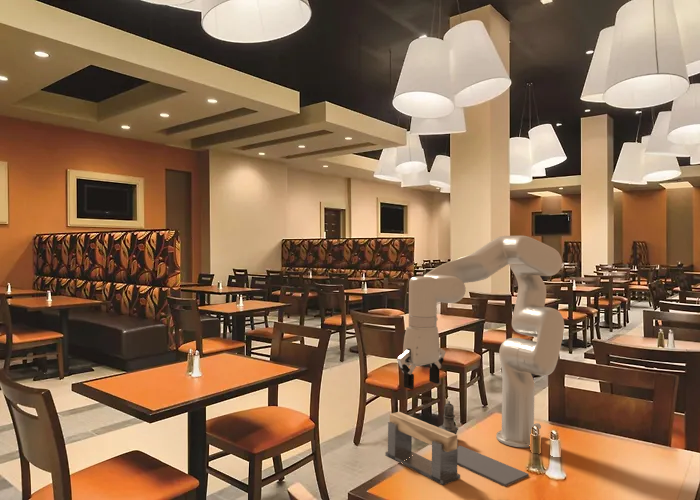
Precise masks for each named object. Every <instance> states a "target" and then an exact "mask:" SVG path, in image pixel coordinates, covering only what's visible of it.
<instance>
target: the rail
mask: <svg viewBox="0 0 700 500" xmlns="http://www.w3.org/2000/svg"><path fill="white" fill-rule="evenodd" d="M389 422H392V423H394V424H397V430H398V431H401V432H403V433H405V434H407V435H410V436H412V438H414V439H417V440H419V441H421V442H423V443H426V444H428V445H430V446H432V441H436V442H439V443H441V444H443V450H444V451H446V452H449V451H452V450H455V449H457V439H458V434H454V433H451V432H449V431H446V430H444V429H441V428H439V426H436V425H433V424H430V423H428V422H426V421H423V420H421V419H418V418H416V417H413V416H411V415H408V414H405V413H403V412H401V411H397V412H392V413H389Z"/></svg>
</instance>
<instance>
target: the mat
mask: <svg viewBox="0 0 700 500" xmlns="http://www.w3.org/2000/svg"><path fill="white" fill-rule="evenodd" d="M457 466H459V467H461V468H463V469H466V470H469V471H470V472H472V473H474V474H477V475H479V476H481V477H484V478H485V479H488V480H490V481H491V482H494V483H496V484H498V485H500V486H502V487H507V486H510V485H512V484H514V483H516V482H519V481H521V480H523V479H525V478H528V477H529V476H530V475H529V473H528V472H525V471H522V470H520V469H518V468H516V467H513V466H512V465H509V464H507V463H503V462H501V461H499V460H497V459H493V458H491V457H490V456H487V455H485V454H482V453H479V452H478V451H477V452H476V451H475V450H473V449H470V448H468V447H465V446H462V445H458V457H457Z"/></svg>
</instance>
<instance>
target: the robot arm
mask: <svg viewBox="0 0 700 500" xmlns="http://www.w3.org/2000/svg"><path fill="white" fill-rule="evenodd" d="M508 265H509V268H510V270H511V271H512V273H513V274H514V277H515V279H516V282H517V288H518V289H517V295H516V299H515V303H514V308H513V313H512V318H511V328H512V329H513V331H515V332H516V333H518V334H520V335H523V336H524V335H525V336H528V337H533V338H536V341H535V340H530V339H524V338H520V337H510V338H506V339H505V340H504V341H503V342H502V343H501V344H500V347H499V351H498V352H499V353H498V354H499V356H498V357H499V361H500V366H501V377H502V386H501V387H502V388H501V389H502V390H501V391H502V392H501V430H499V431H498V432H497V433H496V435H495V436H496V440H497V441H499V442H500V443H501V444H503V445H506V446H509V447H515V448H522V449H523V448H524V449H525V448H526V449H527V448H530V447H529V445H530V434H531V429H532V427H534V426H537V427H538V428H539V430H541V428H542V425H541V423H539V422H538V423H535V385H536V384H535V381H534V378H533V375H536V376H542V377H546V376H549V375H551V374H552V373H553V372H554V371H555V369H556V367H557V364H558V360H559V357H560V356H559V355H560V352H561V351H560V350H561V347H562V341H563V339H564V338H563V336H564V332H565V321H564V317H563V315H562V313H561V312H560V311H559V310H558V309H556V308H553V307H550V306H549V307H547V306H545V304H546V299H547V288H546V284H545V282H544V280H543V279H542V277H552V276H555V275H556V274H558V273H559V272H560V270H561V269H562V266H563V260H562V256H561V253H559V251H558V250H557V249H555V248H554V247H552V246H550V245H548V244H546V243H544V242H542V241H540V240H537V239H535V238H533V237H531V236H528V235H527V236H526V235H502V236H498V237H496V238H494V239H492V240H491V241H489V242H487V243H486V244H484V245H482V246H481V247H480V248H478V249H476V250H475V251H473V252H471V253H470V254H467V255H464V256H461V257H459V258H456V259H454V260H450V261H447V262H445V263H443V264H440V265H438V266H437V267H435V268H433V269H432V270H430V271H428V272H426V273H425V274H424V275H423V276H422V275H421V276H419V275H418V276H413V277H411V278H409V283H408V327H406V329H405V333H404V338H403V346H402V347H403V348H402V354H400V355H399V356H398V357H397V358H396V360H397V363H398V365H399V369H400V370H401V372H402V373H403V388H405V389H409V390H414V388H415V374H414V373H413V372H414V370H415V369H416V367H419V366H425V365H426V366H427V365H430V366H429V372H428V373H429V376H428V377H429V382H430V383H434V384H437V385H438V384H440V369H441V368H442V364H443V363H444V358H445V356H446V350H444V349H443V348H441V347H440V334H439V329H438V326H437V325H438V324H437V323H438V316H437V315H438V314H437V313H438V308H437V307H438V303H445V304H456V303H458V302H459V301H461V300H463V298H464V297H465V296H466V295H465V294H466V289H467V288H466V283H467V284H468V283H476V282H480V281H484V280H486V279H488V278H490V277H491V276H493V275H494V274H495V273H497V272H499V271H500V270H501V269H503V268H505V267H506V266H508ZM532 374H533V375H532Z"/></svg>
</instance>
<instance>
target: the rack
mask: <svg viewBox="0 0 700 500" xmlns="http://www.w3.org/2000/svg"><path fill="white" fill-rule="evenodd" d="M387 423H388V425H387V450H386V451H385V454H384V455H385V456H386V457H387V458H389V459H391V460H394V461H395V462H397V463H399V464H401V462H402V463H403V464H402V465H403V466H404V467H407V468H408V469H411V470H413V471H414V472H417V473H418V474H419V475H422V476H424V477H427V478H428V479H430V480H432V481H434V482H436V483H438V484H440V485H442V486H445V485H448V484H450V483H453V482H454V481H459V480H460V479H461V474H460V473H458V465H457V457H458V446H459V445H458V443H459V442H458V441H459V439H458V438H457V449H455V450H452V451H449V452H446V451H444V450H443V444H441V443H439V442H436V441H432V445H431V460H430V459H429V458H427V457H424V456H422V455H420V454H418V453H416V452H414V451H412V449H413V448H412V447H413V446H412V442H413V441H412V439H413V437H412V436H410V435H407V434H405V433H403V432H401V431H398V430H397V424H394V423H392V422H390V421H389V422H387ZM412 455H413V456H412ZM409 457H410V458H409ZM406 459H407V460H406ZM404 460H405V461H404Z"/></svg>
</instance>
